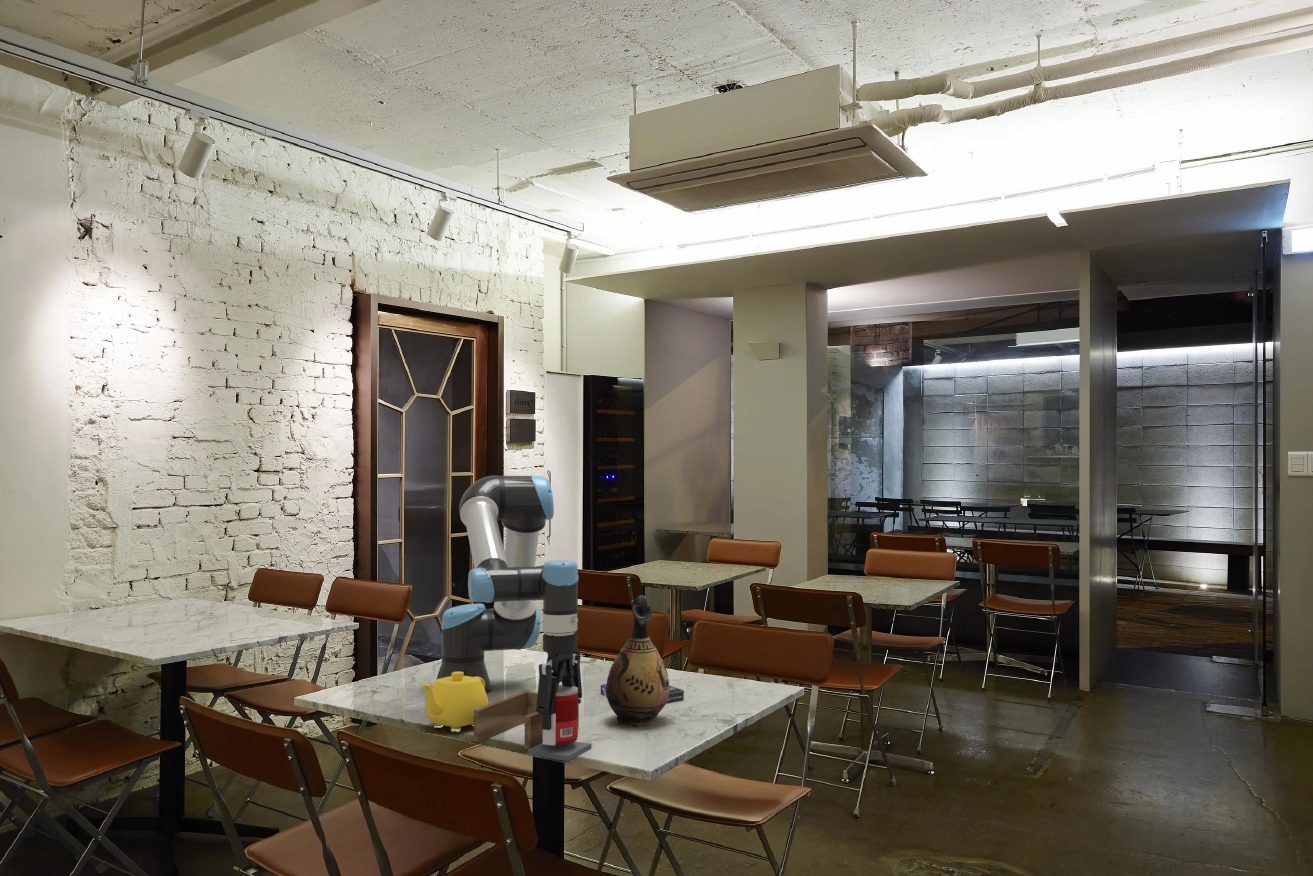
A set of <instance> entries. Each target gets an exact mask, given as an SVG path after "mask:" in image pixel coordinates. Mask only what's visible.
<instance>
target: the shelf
mask: <svg viewBox="0 0 1313 876" xmlns="http://www.w3.org/2000/svg"><path fill="white" fill-rule="evenodd" d="M537 695H538V691H536V690H523V691H520V692H519V691H518V692H517V693H515V694H511V695H509V696H506V697H504V698H502V699H501V698H500V699H498V700H496V701H493V702H491V703H488V705H485V706H483V707H480V708H477V709H475V710H474V727H473V740H472V741H473V742H476V743H480V742H483V741H485V740H487V739H490V738H492V737H495V736H497V735H499V734H501V733H504V732H506V731H508V730H510V729H514V728H516V727H517V726H520V725H522V724H524V750H529V749H531V748H533V747H535V746H537V745H539V744H541V743H543V739H542V713H538V712H536V706H537ZM579 706H580V704H578V727H579V723H580V722H579V720H580V719H579V715H580V714H579V708H580V707H579ZM541 707H542V706H541ZM494 735H495V736H494Z"/></svg>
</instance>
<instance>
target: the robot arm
mask: <svg viewBox="0 0 1313 876" xmlns="http://www.w3.org/2000/svg"><path fill="white" fill-rule="evenodd" d="M554 507H555V505H554V496H553V490H552V486H551V483H550V480H549V479H548V477H545V476H543V475H533V474H531V475H489V476H488V475H487V476H484V477H482V478H480V479H478V480H476V481H475V482H473V483H472V484H471V485H470V486H468V488H467V489H466V490H465V492H464V493H463V494H462V497H461V499H460V502H459V508H458V509H459V510H458V511H459V516H460V517H459V518H460V520H461V522H462V523H463V524H464V526H465V527H466V531H467V537H468V541H469V546H470V552H471V556H472V562H473V567H474V568H472V569H470V570H469V572H468V575H467V576H468V577H467V578H468V579H467V588H468V597H469V599H470V601H471V602H473V603H469V604H461V605H456V606H453V607H451V608H447V609H446V610H445V611H444V612H443V613H442V620H441V621H442V622H441V627H440V628H441V664H440V667H439V671H438V673H437V677H436V680H437V679H440V678H445V677H449V676H452V674H451V673H453V672H458V671H459V672H464V675H463V676H470V677H481V678H482V679H483V680H484V681H485V692H486V693H487V692H489V691H490V690H491V679H490V676H489V673H488V670H487V667H486V662H485V652H489V651H490V652H493V651H494V652H495V651H507V650H508V651H509V650H517V651H518V650H519V651H520V650H523V649H530V648H532V647H535V645H536V643H537V641H538V639H539V636H540V632H541V631H540V630H541V612H540V609H539V607H537V606H536V603H535V601H542V602H543V603H542V631H543V632H544V634H543V635H542V651H543V652H545V653H546V654H547V657H546V663H544V664H543V663H540V664H539V665H538V675H539V676H538V686H537V687H538V688H537V692H538V695H537V706H536V712H538V713H542V715H543V744H546V745H553V746H554V745H556V714H555V713H553V711H554V706H555V702H556V693H557V692H558V687H559V685H560V684H561V685H563V686H566V687H573V686H575V687H577V688H578V704H579V705H580V704H582V697H583V690H582V689H583V686H582V676H581V675H582V674H581V665H580V664H581V655H580V654H576V653H575V652H576V651H577V650H578V647H579V646H578V645H579V644H578V634H577V633H576V632H577V631H578V622H579V619H578V609H579V608H578V604H579V603H578V602H579V601H578V600H579V599H578V597H579V595H578V591H579V589H578V588H579V578H580V577H579V573H578V572H579V571H578V564H577V562H576V561H574V560H562V559H561V560H559V559H558V560H549V561H546V562H544V564H543V565H540V566H536V559H537V551H538V550H537V549H538V541H539V533H540V532H541V531H543V530H544V529H545V526H546V522H547V521H550V520H552V519H553V518H554V515H555V513H554V512H555V511H554V510H555V508H554ZM498 521H501V524H502V526H503V527H504V528H505V529H506V533H505V534H506V536H505V544H503V540H502V536H501V532H500V527H499V524H498ZM484 603H486V604H488V603H489V604H490V603H494V605H493V608H486V606H485V604H484ZM574 653H575V654H574ZM541 706H542V707H541Z"/></svg>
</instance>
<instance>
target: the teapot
mask: <svg viewBox="0 0 1313 876" xmlns="http://www.w3.org/2000/svg"><path fill="white" fill-rule="evenodd" d="M451 674H452V676H449V677H445V678H440V679H437V678H436V679H437V680H434V681H433V683H432V685H430V684H428V683H427V684H426V683H425V684H423V683H422V684H419V686H420V687H422V688H423V691H424V692H425V693H424V696H425V697H424V698H425V710H424V711H425V715H426V717H427V719H428V721H429V722H431V723H432V724H434V725H433V726H441V725H443V726H444V727H450V730H451V729H460V728H461V729H462V727H465V726H470V725H474V710H475V709H477V708H480V707H483V706H485V705H488V704H489V699H488V695H487V692H485V681H484V680H483V679H482V678H481V677H470V676H463V675H464V672H459V671H458V672H453V673H451Z"/></svg>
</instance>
